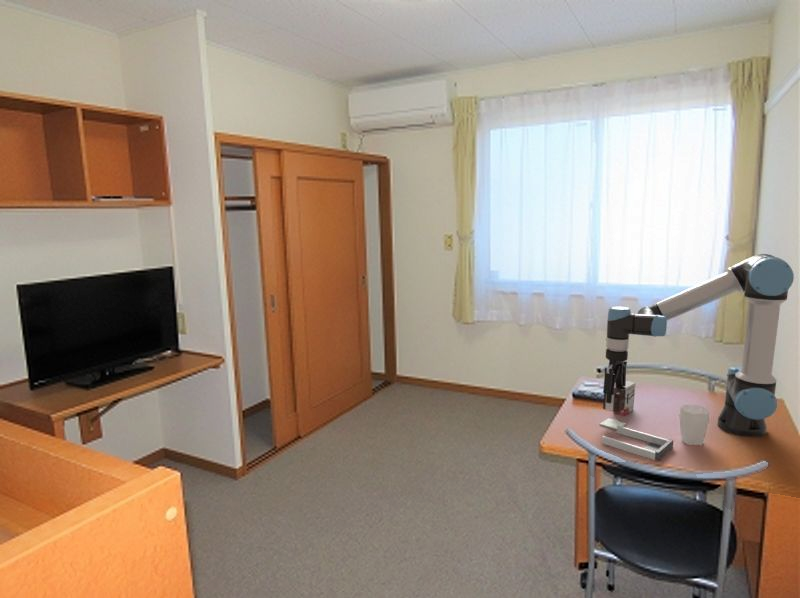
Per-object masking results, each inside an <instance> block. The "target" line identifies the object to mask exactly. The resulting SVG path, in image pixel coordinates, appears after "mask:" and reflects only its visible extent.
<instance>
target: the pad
mask: <svg viewBox="0 0 800 598" xmlns="http://www.w3.org/2000/svg"><path fill="white" fill-rule="evenodd" d="M618 425H619V426H622V427H626V426H627V422H622V421H619V420H616V419H612V418H609V417H608V418H606V419H605V420H604V421H602V422H601V423H599V426H601V427H605V428H608V429H610V430H611V429H612V430H614V431H617V426H618Z"/></svg>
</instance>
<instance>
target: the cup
mask: <svg viewBox="0 0 800 598" xmlns="http://www.w3.org/2000/svg"><path fill="white" fill-rule="evenodd" d="M678 415H679V428H680V439H681V442H682V443H683V444H686V443H687V444H686V445H688V444H690V445H689V446H692V445H700V446H702V445H703V444H704V441H705V439H706V438H705V437H706V434H707V429H708V427H709V423H710V410H709V409H708V408H706V407H704V406H701V405H696V404H683V405H681V406H680V409H679V414H678Z"/></svg>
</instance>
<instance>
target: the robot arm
mask: <svg viewBox="0 0 800 598" xmlns="http://www.w3.org/2000/svg"><path fill="white" fill-rule="evenodd" d="M794 278H795V277H794V270H793V269H792V267H791V266H790V264H789V263H787V262H786V261H785V260H784V259H782V258H779V257H776V256H774V255H772V254H766V253H764V254H763V253H760V254H756V255H753V256H749V257H748V258H746V259H744V260H742V261H740V262H738V263H736V264H734V265H732V266H730V267H728V268H727V270H726V272H723V273H721V274H719V275H717V276H715V277H713V278H711V279H708V280H705V281H703V282H700V283H699V284H697V285H694V286H693V287H689V288H686V290H682V291H680V292H678V293H676V294H674V295H671V296H670V297H667V298H665V299H663V300H660V301H658V302H656V303H654V304H651V305H647V306H642V307H641V308H640V309H638V312H637V313H632V312H631V309H630V307H627V306H619V305H618V306H612V307H610V308H609V309H608V313H607V321H606V322H607V325H606V338H605V341H606V345H605V347H606V349H605V359H607V360H609V361H608V362H609V363H608V366H607V367H604V381H603V391H602V393H603V395H604V394H606V406H605V409H604V410H605V411H608V412H612V413H614V412H613V407H614V394H613V392H614V388H615V385H616V388H618V389H623V390H625V387H623V386H626V380H627V365H628V362H627V360H628V356H629V355H628V354H629V351H628V349H629V346H630V345H629V342H630V338H629V337H630V335H636V336H637V335H638V336H647V337H648V336H649V337H665V336H666V333H667V329H668V327H667V323H668V321H670V320H672V319H675V318H677V317H679V316H681V315H684V314H686V313H688V312H689V313H690V312H691V311H694V310H695V309H698V308H701V307H702V306H706V305H708V304H710V303H712V302H715V301H717V300H719V299H721V298H724V297H727V296H729V295H732V294H734V293H735V292H740V293H744V298H745V299H746V300H747V301H748V307H747V316H746V317H747V318H746V326H745V335H744V340H743V341H744V342H743V350H742V351H743V352H742V360H741V365H740V366H738V365H737V366H730V367H729V368H728V369H727V373H726V376H727V378H726V386H725V387H726V389H725V396H724V397H725V399H724V405H723V408H722V410H721V411H720V413H719V416H718V417H717V426H718V427H719V428H720V429H721V430H723V431H724V432H727V433H729V434H733V435H737V436H741V437H749V438H750V437H752V438H755V437H762V436H763V437H764V436H765V435H766V434H767V428H768V427H767V423H766V420H765V419H767V418H770V417H771V416H772V415H774V414H775V412H776V411H777V408H778V399H777V397H776V387H777V379H776V378H775V376H773V366H774V358H775V350H776V342H777V335H778V334H777V333H778V325H779V320H780V319H779V318H780V310H781V306H782V304H783V303H784V302H786V301H787V300H788V294H789V289H790V288H791V287H792V285H793V283H794Z"/></svg>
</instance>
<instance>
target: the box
mask: <svg viewBox="0 0 800 598" xmlns="http://www.w3.org/2000/svg"><path fill="white" fill-rule="evenodd" d="M613 394H614V407H613V412H612V413H614V412H617V413H616V414H618V413H619V412H620V411H622V410H623V409H624V408H625V394H626V390H623V389H618V388H615V387H614V392H613ZM605 406H606V394H604V393H603V404H602V409H603V410H605Z"/></svg>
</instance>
